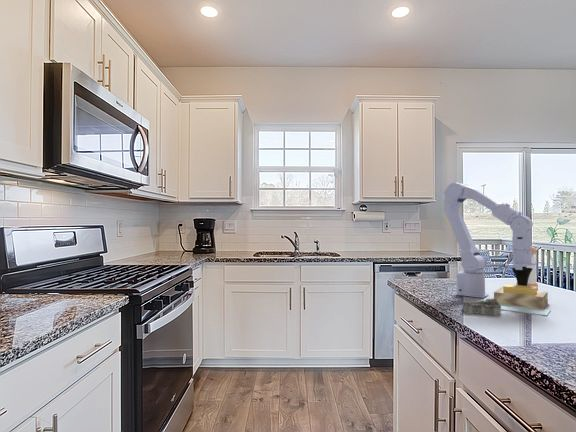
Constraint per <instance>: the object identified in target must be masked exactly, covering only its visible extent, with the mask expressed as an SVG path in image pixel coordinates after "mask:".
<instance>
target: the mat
mask: <svg viewBox="0 0 576 432" xmlns="http://www.w3.org/2000/svg"><path fill="white" fill-rule="evenodd" d="M499 305H500V306H501V311H507V312H514V313H522V314H529V315H536V316H541V317H542V316H543V317H548V316H549V314H550V313H551V309H547V308H544V309H539V308H531V307H523V306H515V305H507V304H499Z"/></svg>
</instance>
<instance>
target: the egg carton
mask: <svg viewBox="0 0 576 432" xmlns="http://www.w3.org/2000/svg"><path fill="white" fill-rule="evenodd" d="M461 302H462V310H463V313H468V314H481V315H486V314H489V315H494V316H498V315H501V314H502V312H501V311H502V310H501V306H500V305H499V303H498V301H497V299H494V298H487V299H485V300H480V301H471V300H470V301H467V300H462V301H461Z"/></svg>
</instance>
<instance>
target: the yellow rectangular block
mask: <svg viewBox="0 0 576 432" xmlns="http://www.w3.org/2000/svg"><path fill="white" fill-rule="evenodd" d="M502 287H503V292H507V293H516V294H525V295H535V294H536V293H537V287H533V286H522V285H516V284H510V283H506V284H505V285H503V286H502Z"/></svg>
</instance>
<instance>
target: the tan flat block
mask: <svg viewBox="0 0 576 432" xmlns="http://www.w3.org/2000/svg"><path fill="white" fill-rule="evenodd" d="M548 293H549V292H548V291H542V290H538V291H537V293H536V294H535V295H525V294H516V293H507V292H503V286H502V287H500V288H498V289H497V290H494V291H493V299H497V301H498V303H499V304H507V305H515V306H523V307H531V308H539V309H546V307H547V305H548V303H549V302H548V296H549V295H548Z"/></svg>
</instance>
